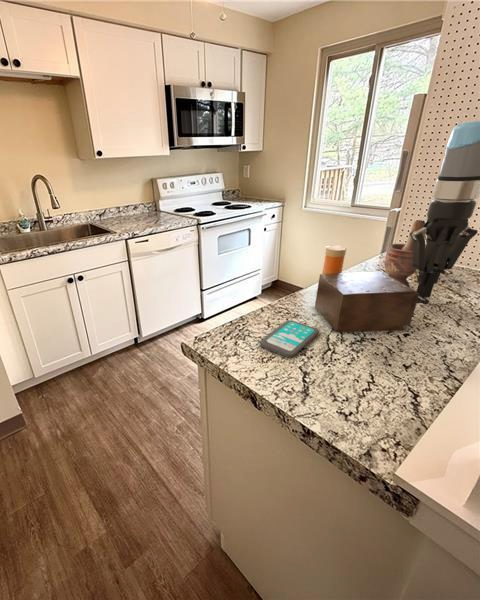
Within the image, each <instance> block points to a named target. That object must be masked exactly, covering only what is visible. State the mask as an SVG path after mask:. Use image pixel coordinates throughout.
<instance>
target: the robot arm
mask: <svg viewBox="0 0 480 600" xmlns="http://www.w3.org/2000/svg"><path fill="white" fill-rule="evenodd" d="M479 197H480V120H475V121H467V122H466V121H465V122H464V121H463V122H461V123H458V124H457V125H455V126H454V128H453V129H452V131H451V134H450V136H449V138H448V141H447V144H446V146H445V152H444V156H443V159H442V163H441V167H440V170H439V174H438V177H437V179H436V183H435V187H434V189H433V193H432V198H433V199H432V200H431V201H430V202H429V205H428V209H427V213H426V217H427V219H426V221H424V222H425V224H424V225H423V228H421V229H420V230H418V231H412V232H410V231H409V233H410V236H411V238H412V240H413V244H412V267H413V268H415V269H417V270H419V272H418V275H417V278H416V282H417V283H418V285H417V288H416V290H415V291H416V292H418V293H419V295H421V296H423V297H424V298H431V294H432V292H433V289H434V286H435V285H436V284H437V283H438V281H439V279H440V276H441V274H445V273H446V272H447V271H446V270H452V269H453V267H454V266H455V264H456V263H457V261H458V259H459V258H460V256H461V254H462V253H463V252H464V250H465V249H466V247H467V246H468V244H469V243H470V241H471V240H472V238H474V237H475V236H476V235H477V234H478V232H479V231H478V230H477V229H474V228H471V227H470V226H469V219H471V218H472V217H473V214H474V212H475V208H476V205H477V201H476V200H477V199H479ZM425 240H426V243H427V244H426V248H425Z"/></svg>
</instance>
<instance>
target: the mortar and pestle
mask: <svg viewBox="0 0 480 600" xmlns="http://www.w3.org/2000/svg"><path fill="white" fill-rule="evenodd" d="M425 222H426V221H424V220H422V219H416V220H415V221H414V222H412V224H411V227H410V230H409V233H408V237H407V240H406V242H405V243H391V244H388V245H387V249H386V254H385V257H384V271H385V272H386V273H387V275H389V276H390V277H392V278H394V279H396V280H397V281H399V282H401V283H402V284H404V285H406V286H408V287H409V288H411V286H410V283H409V281H408V280H407V279H408V278H409V277H411V276H413V275H414V274H415V273H416V272H415V271H416V270H417V269H415V268H413V267H412V244H413V240H412V238H411V236H410V232H412V231H418V230H420V229H421V228H423V225H424V224H425Z"/></svg>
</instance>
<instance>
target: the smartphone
mask: <svg viewBox="0 0 480 600" xmlns="http://www.w3.org/2000/svg"><path fill="white" fill-rule="evenodd" d="M318 334H319V329H318V328H317V327H313V326H310V325H307V324H304V323H301V322H297V321H295V320H285V322H283V323H282V324H280V325H279V326H278V327H277V328H275V329H274V330H273V331H271V332H270V333H269V334H267V335H266V336H265V337H264V338H263V339H262V340H261V341H260V346H261V347H262V348H264V349H266V350H268V351H271V352H274V353H276V354H279V355H281V356H283V357H286V358H293V357H294V356H296V355H297V354H298V353H299V352H300V351H301V350H303V348H304V347H306V346H307V345H308V344H309V343H310V342H312V340H314V339H315V338H316V336H318Z"/></svg>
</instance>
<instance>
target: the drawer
mask: <svg viewBox="0 0 480 600" xmlns="http://www.w3.org/2000/svg"><path fill="white" fill-rule="evenodd" d="M387 275H388V276H389V274H387ZM389 277H390V276H389ZM391 278H392V277H391ZM393 279H394V278H393ZM395 280H396V279H395ZM396 281H397V280H396ZM398 282H399V281H398ZM400 283H401V282H400ZM401 284H402V283H401ZM403 285H404V284H403ZM405 286H406V285H405ZM407 287H408V286H407ZM408 288H409V287H408ZM410 289H412V288H411V287H410ZM412 290H413V291H415V292H414V296H413V299H412V302H411V306H410V309H409V312H408V316H407V319H406V322H405V325H404V327H409V326H410V325H411V323H412V319H413V316H414V312H415V309H416V306H417V304H422V305H426V306H427V305H429V304H430V300H429V299H427V297H423V296H421V295H419V293H418V292H416V291H417V290H414V289H412Z"/></svg>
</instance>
